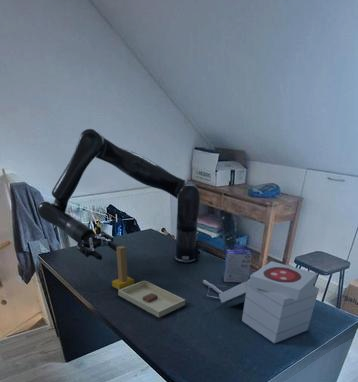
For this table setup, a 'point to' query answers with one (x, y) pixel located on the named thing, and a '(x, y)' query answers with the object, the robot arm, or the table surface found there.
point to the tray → (156, 307)
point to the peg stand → (122, 270)
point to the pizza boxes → (277, 300)
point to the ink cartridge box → (237, 265)
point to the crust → (150, 297)
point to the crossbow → (212, 288)
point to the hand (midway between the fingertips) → (109, 253)
